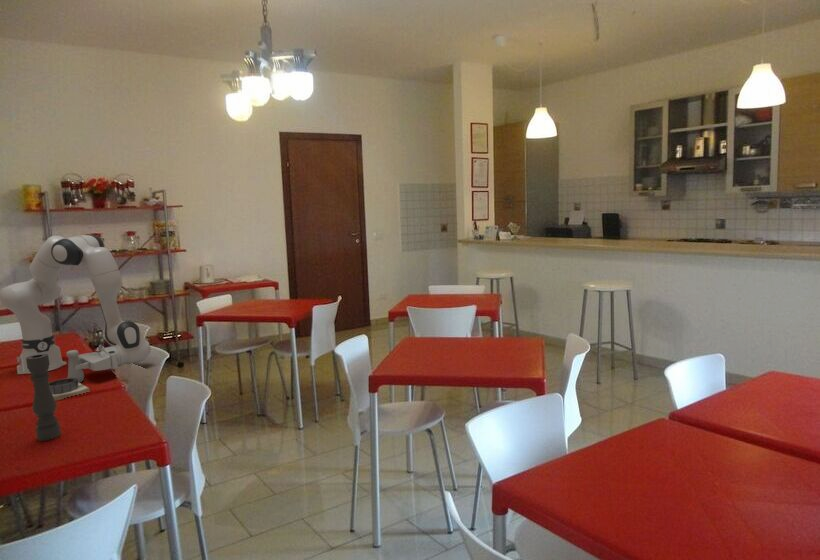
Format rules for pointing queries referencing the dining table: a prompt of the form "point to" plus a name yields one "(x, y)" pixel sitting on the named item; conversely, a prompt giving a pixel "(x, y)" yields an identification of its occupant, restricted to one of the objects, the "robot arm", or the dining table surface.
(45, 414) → the candle holder
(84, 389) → the birch stand
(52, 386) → the metal collar
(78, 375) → the salt shaker
